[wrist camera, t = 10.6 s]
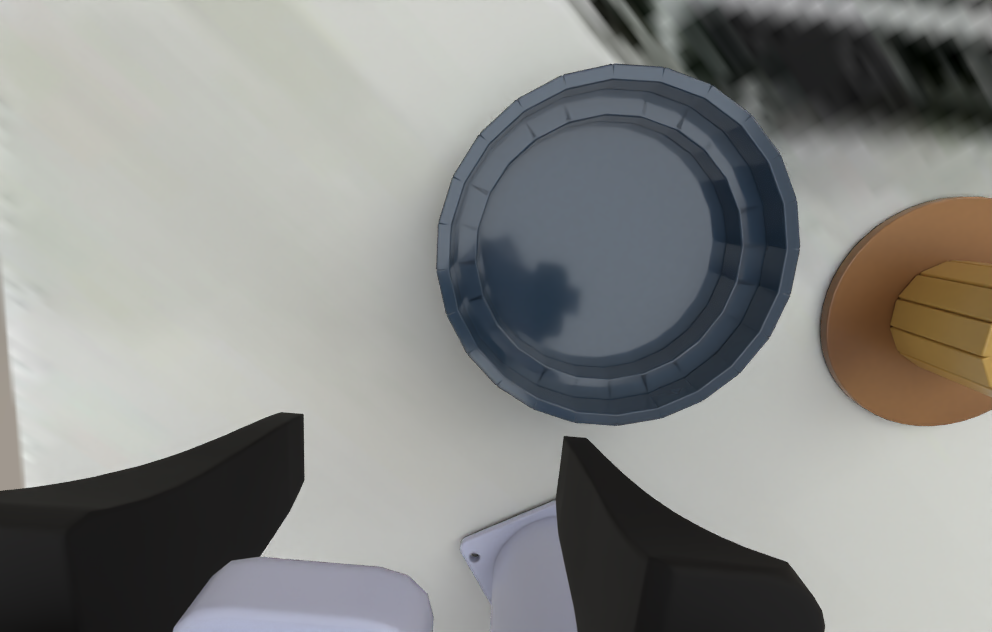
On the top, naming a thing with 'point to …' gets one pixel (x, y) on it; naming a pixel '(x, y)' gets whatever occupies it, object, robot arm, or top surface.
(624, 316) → the bowl
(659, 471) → the top surface
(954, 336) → the brass ring
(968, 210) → the coaster
